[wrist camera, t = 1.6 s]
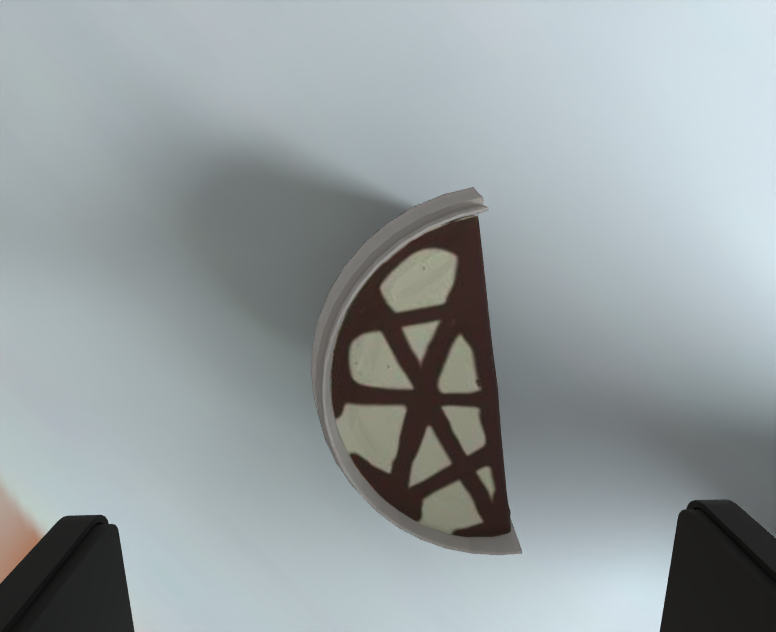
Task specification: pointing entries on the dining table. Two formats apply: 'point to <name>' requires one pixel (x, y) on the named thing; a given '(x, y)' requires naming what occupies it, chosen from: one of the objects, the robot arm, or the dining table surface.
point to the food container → (418, 379)
